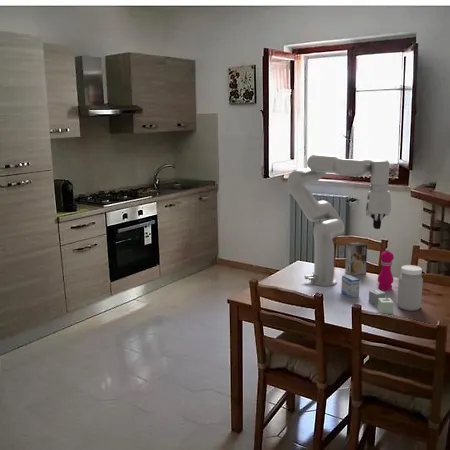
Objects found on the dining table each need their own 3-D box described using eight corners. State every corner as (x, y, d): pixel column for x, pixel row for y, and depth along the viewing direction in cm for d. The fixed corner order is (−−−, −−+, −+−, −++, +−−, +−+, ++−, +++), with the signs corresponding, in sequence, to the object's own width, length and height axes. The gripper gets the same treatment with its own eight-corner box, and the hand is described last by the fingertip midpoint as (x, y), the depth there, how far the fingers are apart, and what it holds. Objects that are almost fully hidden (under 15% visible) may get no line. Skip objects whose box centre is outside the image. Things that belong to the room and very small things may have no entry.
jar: (425, 309, 214) (428, 269, 210) (406, 312, 212) (409, 272, 208) (411, 301, 223) (414, 263, 219) (392, 304, 221) (394, 265, 217)
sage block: (381, 313, 211) (381, 302, 210) (377, 308, 216) (378, 297, 215) (392, 313, 211) (393, 301, 210) (389, 308, 216) (389, 297, 215)
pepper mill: (393, 291, 237) (396, 250, 232) (378, 290, 238) (380, 250, 234) (392, 286, 243) (394, 246, 239) (376, 285, 245) (378, 246, 240)
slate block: (376, 305, 220) (376, 294, 219) (368, 301, 225) (369, 290, 224) (385, 303, 222) (385, 292, 221) (377, 299, 227) (378, 289, 226)
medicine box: (340, 292, 236) (341, 275, 234) (348, 291, 237) (349, 274, 235) (351, 298, 228) (352, 280, 227) (359, 297, 230) (360, 279, 228)
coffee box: (360, 270, 268) (362, 241, 265) (366, 274, 262) (367, 244, 259) (344, 271, 266) (346, 242, 263) (350, 275, 260) (351, 245, 257)
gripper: (366, 189, 216) (364, 231, 220) (399, 188, 218) (396, 229, 222) (359, 187, 223) (357, 227, 227) (390, 186, 225) (388, 225, 229)
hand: (376, 228), depth 224 cm, fingers closed
